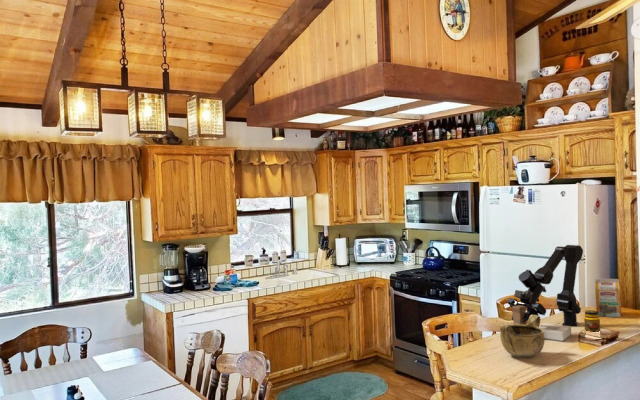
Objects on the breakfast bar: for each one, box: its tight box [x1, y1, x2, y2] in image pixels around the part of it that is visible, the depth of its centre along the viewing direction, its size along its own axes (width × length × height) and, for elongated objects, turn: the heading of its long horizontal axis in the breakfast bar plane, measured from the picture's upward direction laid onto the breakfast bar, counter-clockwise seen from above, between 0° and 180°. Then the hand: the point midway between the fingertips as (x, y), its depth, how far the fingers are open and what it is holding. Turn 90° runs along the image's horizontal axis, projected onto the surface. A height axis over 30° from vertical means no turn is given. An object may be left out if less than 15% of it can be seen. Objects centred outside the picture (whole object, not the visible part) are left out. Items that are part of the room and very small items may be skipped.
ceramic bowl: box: [499, 315, 545, 359], centre depth 208 cm, size 22×17×15 cm
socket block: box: [539, 323, 572, 343], centre depth 232 cm, size 12×12×4 cm
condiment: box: [583, 309, 601, 332], centre depth 227 cm, size 7×8×12 cm
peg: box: [511, 305, 528, 325], centre depth 235 cm, size 4×4×14 cm
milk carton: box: [594, 278, 622, 319], centre depth 263 cm, size 11×11×19 cm
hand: (517, 321), depth 235 cm, fingers open, 6 cm apart
